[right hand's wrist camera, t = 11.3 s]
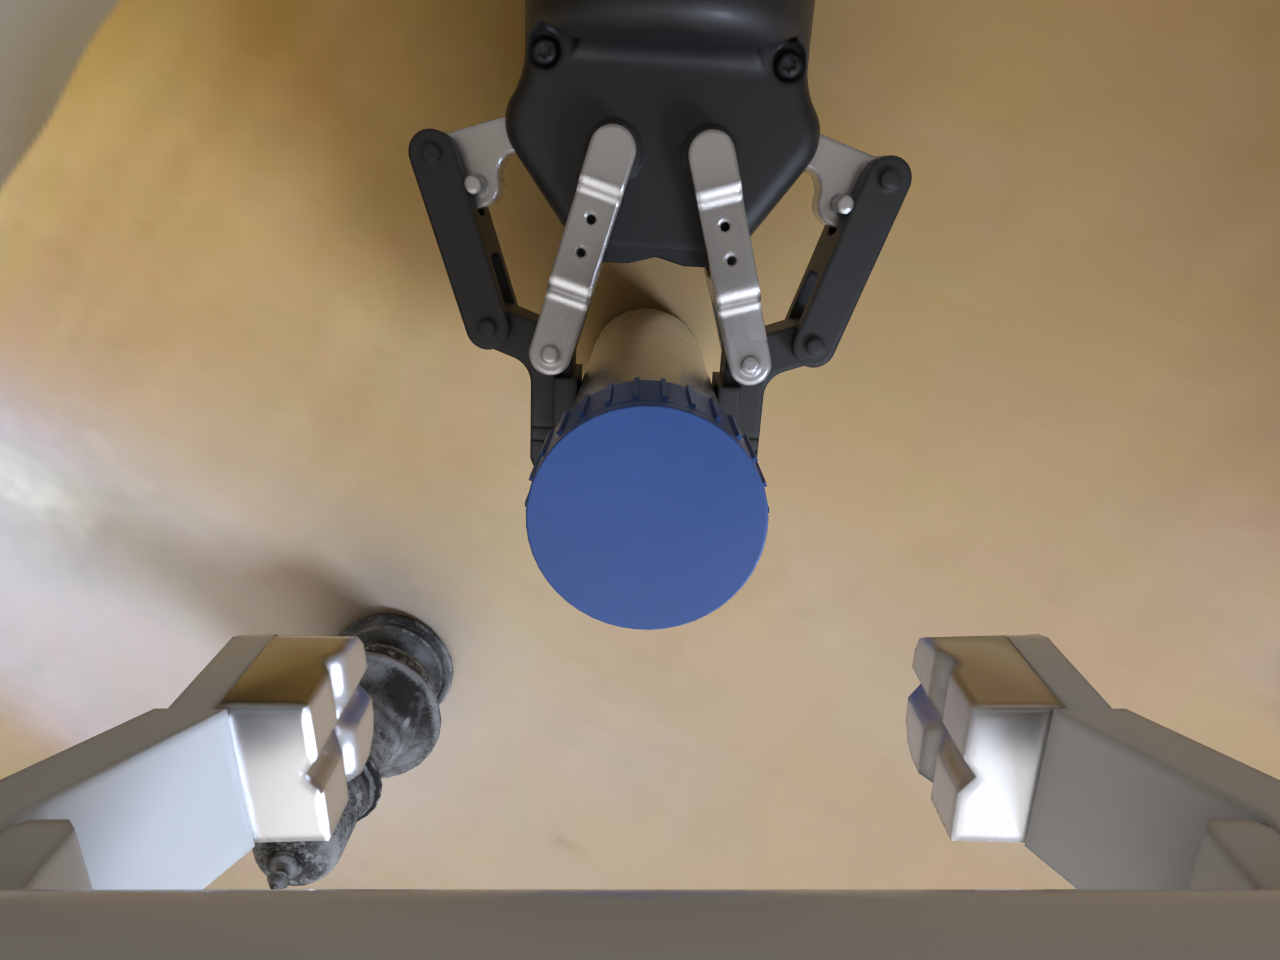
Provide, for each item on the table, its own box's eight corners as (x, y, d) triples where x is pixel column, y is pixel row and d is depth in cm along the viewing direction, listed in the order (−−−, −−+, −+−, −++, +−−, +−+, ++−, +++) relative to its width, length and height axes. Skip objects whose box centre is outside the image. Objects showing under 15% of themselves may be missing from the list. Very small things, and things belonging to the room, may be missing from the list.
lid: (759, 372, 17) (775, 396, 15) (756, 581, 19) (770, 631, 16) (528, 379, 17) (511, 404, 15) (544, 587, 19) (531, 637, 17)
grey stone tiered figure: (311, 702, 36) (158, 936, 25) (340, 590, 34) (189, 786, 23) (440, 740, 36) (348, 984, 25) (475, 631, 35) (393, 842, 23)
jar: (699, 306, 30) (752, 410, 15) (700, 414, 32) (750, 605, 17) (589, 309, 30) (535, 416, 16) (594, 417, 32) (550, 609, 17)
